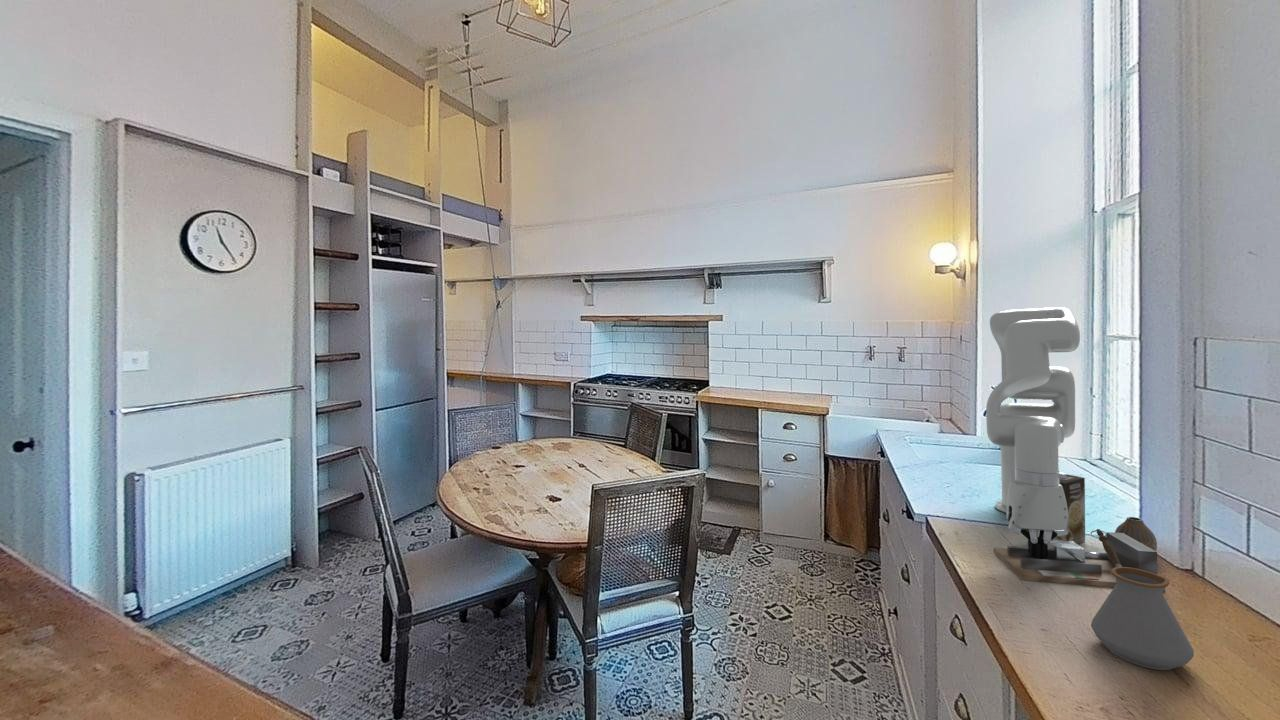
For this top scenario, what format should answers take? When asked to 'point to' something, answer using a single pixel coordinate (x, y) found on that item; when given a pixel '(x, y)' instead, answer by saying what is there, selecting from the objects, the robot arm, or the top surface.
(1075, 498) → the coffee box
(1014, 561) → the bench
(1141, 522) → the vase
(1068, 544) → the grey block with rod
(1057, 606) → the top surface
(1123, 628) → the coffee pot
